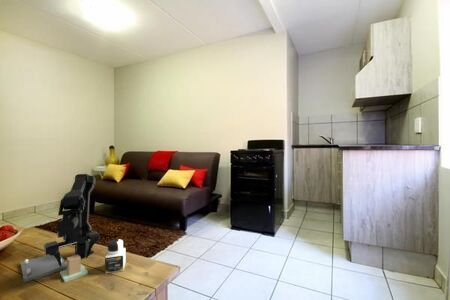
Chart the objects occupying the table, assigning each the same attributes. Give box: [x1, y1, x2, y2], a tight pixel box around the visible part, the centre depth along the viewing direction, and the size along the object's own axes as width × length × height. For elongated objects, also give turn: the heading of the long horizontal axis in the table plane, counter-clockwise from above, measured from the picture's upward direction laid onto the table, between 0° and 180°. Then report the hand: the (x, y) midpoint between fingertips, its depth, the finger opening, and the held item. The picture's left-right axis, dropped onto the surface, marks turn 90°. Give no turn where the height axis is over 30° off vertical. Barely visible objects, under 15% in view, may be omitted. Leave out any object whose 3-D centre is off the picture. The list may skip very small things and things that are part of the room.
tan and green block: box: [59, 254, 89, 283], centre depth 93 cm, size 8×8×7 cm
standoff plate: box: [20, 253, 67, 283], centre depth 98 cm, size 18×14×3 cm
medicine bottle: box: [104, 238, 127, 274], centre depth 97 cm, size 7×7×12 cm
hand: (73, 261), depth 93 cm, fingers open, 9 cm apart
